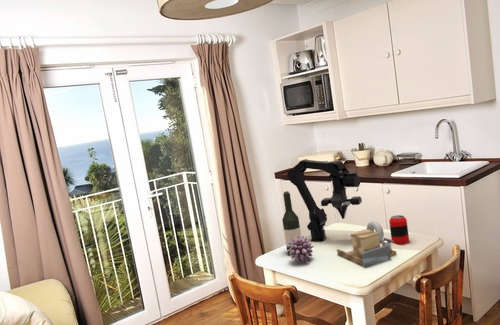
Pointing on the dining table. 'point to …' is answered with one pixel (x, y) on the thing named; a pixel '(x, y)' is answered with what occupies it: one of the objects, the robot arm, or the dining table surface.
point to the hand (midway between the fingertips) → (343, 218)
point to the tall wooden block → (364, 241)
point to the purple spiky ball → (300, 249)
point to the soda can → (399, 230)
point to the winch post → (388, 242)
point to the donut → (376, 229)
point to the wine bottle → (290, 222)
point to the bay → (368, 256)
